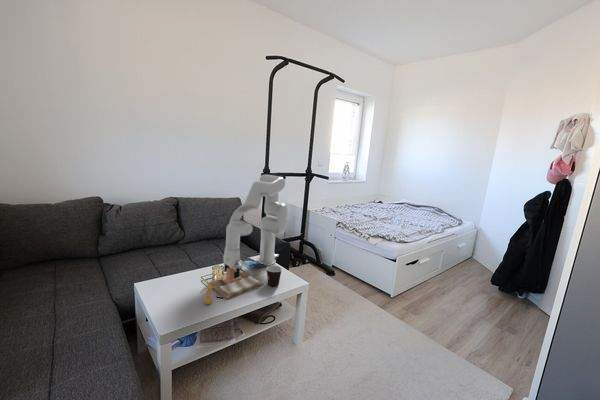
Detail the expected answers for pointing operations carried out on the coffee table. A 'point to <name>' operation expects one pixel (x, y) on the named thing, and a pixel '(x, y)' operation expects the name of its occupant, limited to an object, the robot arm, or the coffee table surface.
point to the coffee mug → (273, 275)
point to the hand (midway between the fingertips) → (231, 274)
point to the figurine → (208, 298)
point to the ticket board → (236, 286)
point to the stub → (230, 276)
